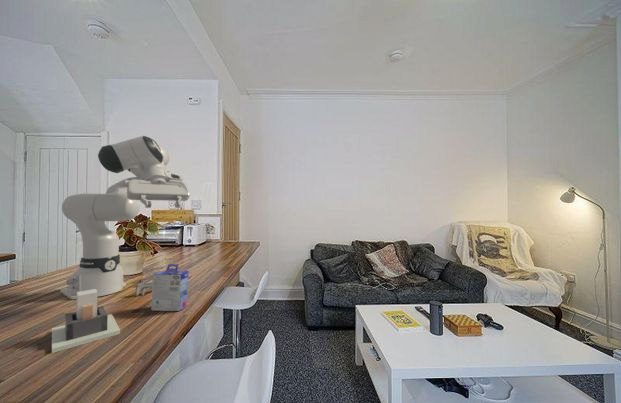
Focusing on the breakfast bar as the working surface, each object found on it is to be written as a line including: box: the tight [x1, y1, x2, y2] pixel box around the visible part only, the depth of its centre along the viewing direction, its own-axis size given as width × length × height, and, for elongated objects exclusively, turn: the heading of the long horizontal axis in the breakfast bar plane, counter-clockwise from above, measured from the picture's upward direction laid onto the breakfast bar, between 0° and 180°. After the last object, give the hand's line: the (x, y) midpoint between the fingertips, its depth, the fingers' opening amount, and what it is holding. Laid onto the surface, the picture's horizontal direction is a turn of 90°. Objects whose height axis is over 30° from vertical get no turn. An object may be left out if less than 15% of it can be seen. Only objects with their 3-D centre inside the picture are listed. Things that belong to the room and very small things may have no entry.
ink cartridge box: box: [150, 263, 189, 312], centre depth 86 cm, size 10×6×14 cm, turn 89°
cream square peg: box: [75, 289, 98, 321], centre depth 69 cm, size 5×4×10 cm
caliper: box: [135, 279, 153, 297], centre depth 105 cm, size 20×1×6 cm, turn 146°
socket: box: [51, 305, 121, 354], centre depth 69 cm, size 14×13×5 cm
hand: (163, 206), depth 91 cm, fingers open, 8 cm apart
